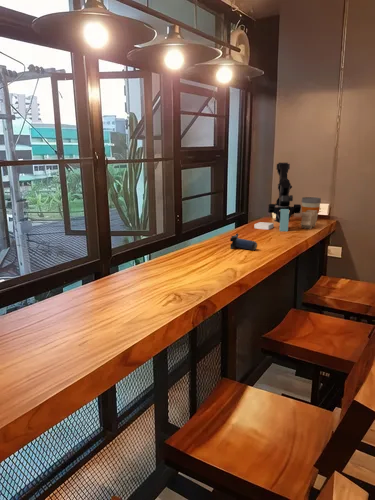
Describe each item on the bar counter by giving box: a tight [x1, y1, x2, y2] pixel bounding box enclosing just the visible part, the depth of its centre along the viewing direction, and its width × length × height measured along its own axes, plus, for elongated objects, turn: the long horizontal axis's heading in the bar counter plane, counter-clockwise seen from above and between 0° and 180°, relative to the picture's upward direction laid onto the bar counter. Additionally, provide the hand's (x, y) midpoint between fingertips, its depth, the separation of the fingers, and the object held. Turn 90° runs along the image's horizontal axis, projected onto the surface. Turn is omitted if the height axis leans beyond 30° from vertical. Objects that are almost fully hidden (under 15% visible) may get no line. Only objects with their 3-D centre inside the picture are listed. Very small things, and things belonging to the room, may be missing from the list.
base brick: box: [253, 221, 275, 230], centre depth 243 cm, size 9×9×3 cm
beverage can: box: [229, 233, 258, 251], centre depth 188 cm, size 9×8×12 cm
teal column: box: [278, 209, 290, 232], centre depth 232 cm, size 5×5×12 cm
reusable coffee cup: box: [301, 196, 322, 221], centre depth 270 cm, size 13×13×15 cm
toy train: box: [300, 210, 318, 230], centre depth 243 cm, size 6×17×10 cm, turn 150°
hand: (284, 219), depth 231 cm, fingers closed on teal column, 5 cm apart
